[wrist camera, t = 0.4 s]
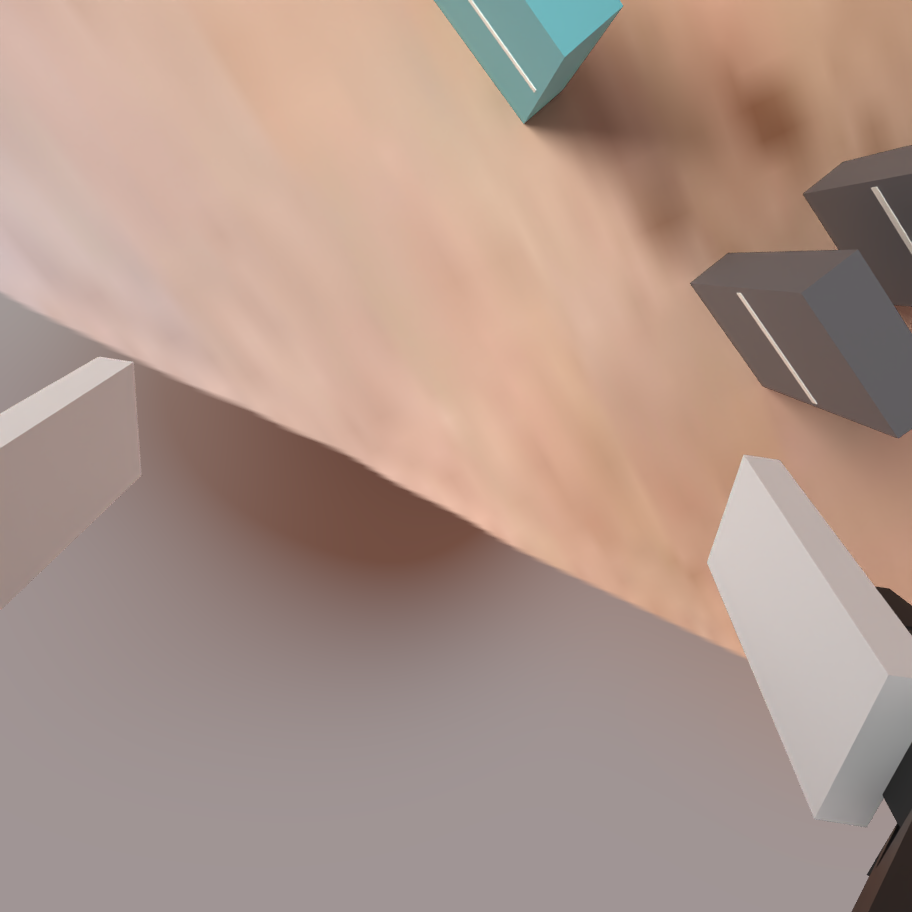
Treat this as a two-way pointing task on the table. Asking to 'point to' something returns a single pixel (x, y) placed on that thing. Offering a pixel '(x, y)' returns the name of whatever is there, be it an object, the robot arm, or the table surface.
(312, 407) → the table surface
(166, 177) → the table surface
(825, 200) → the domino
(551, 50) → the teal domino
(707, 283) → the domino
